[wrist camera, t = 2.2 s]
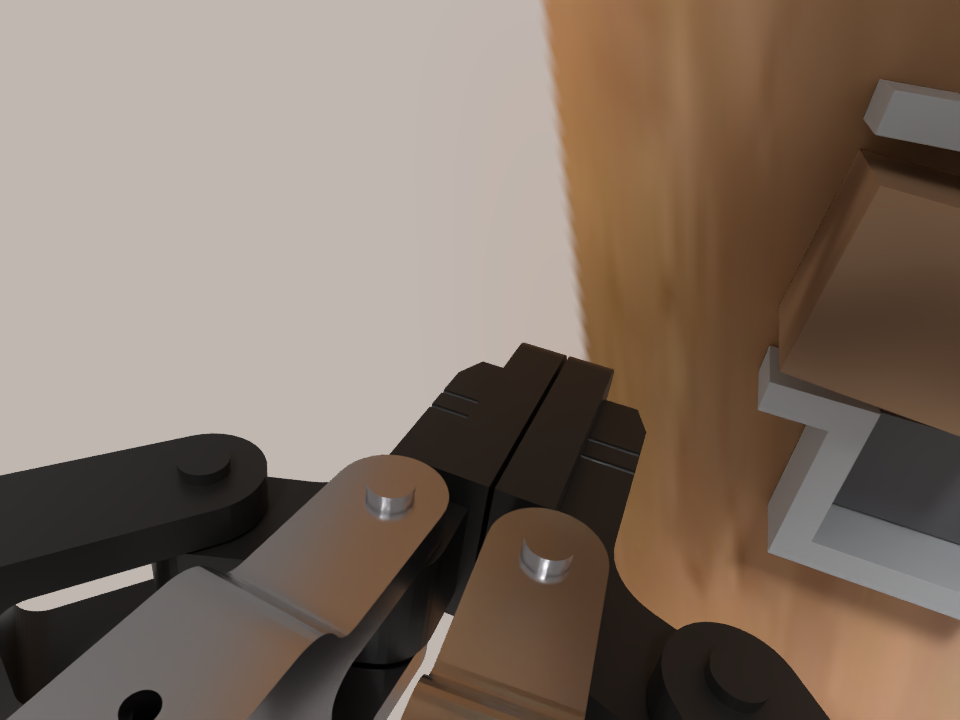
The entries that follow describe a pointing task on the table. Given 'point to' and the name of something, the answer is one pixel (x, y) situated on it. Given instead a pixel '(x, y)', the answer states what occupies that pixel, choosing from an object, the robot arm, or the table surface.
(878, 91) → the track
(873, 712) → the table surface
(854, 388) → the block
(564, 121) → the table surface
